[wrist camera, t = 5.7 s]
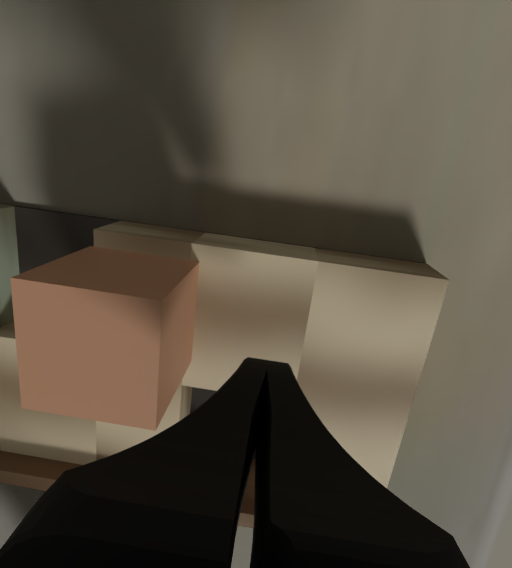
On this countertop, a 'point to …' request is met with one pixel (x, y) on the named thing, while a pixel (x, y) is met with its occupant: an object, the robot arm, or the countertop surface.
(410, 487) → the countertop surface
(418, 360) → the cubby shelf
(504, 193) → the countertop surface
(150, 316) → the block
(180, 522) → the robot arm
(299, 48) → the countertop surface
